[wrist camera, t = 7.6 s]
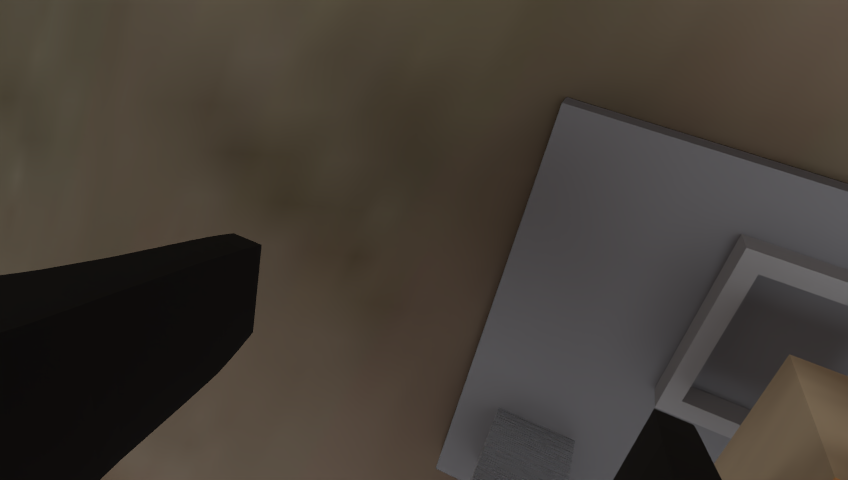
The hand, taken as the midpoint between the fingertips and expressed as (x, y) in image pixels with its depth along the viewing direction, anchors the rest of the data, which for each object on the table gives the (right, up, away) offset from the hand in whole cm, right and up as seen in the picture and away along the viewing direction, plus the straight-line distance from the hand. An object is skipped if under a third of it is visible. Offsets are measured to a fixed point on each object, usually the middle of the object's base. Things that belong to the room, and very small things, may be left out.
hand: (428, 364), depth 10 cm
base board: (+10, -3, +10) cm, 14 cm away
